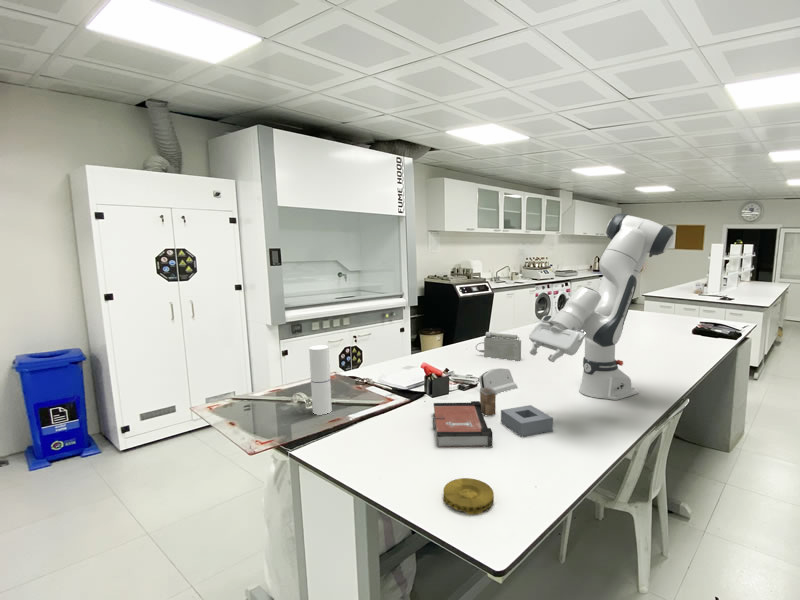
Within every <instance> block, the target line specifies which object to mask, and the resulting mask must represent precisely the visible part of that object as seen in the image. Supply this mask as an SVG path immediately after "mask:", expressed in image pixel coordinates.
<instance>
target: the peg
mask: <svg viewBox="0 0 800 600" xmlns="http://www.w3.org/2000/svg"><path fill="white" fill-rule="evenodd" d="M496 395H497V394H496V390H494V389H493V388H491V387H486V388H481V387H480V388H479V401H480V404H481V412H482V413H483V414H482V415H483V416H485V415H488V416H493V414H494V415H496Z"/></svg>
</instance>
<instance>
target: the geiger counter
mask: <svg viewBox="0 0 800 600" xmlns="http://www.w3.org/2000/svg"><path fill="white" fill-rule="evenodd" d="M483 340H484V341H483V342H479V343H477V344H476V345H475V350H477V352H479V353H483V354H484V355H483V357H484V358H488V357H491V358H490V359H496V358H499V359H498V360H504V359H507V360H506V361H512V360H515V361H514V362H521V361H522V340H521V339H520V337H519V336H518V334H510V333H509V334H508V333H499V332H492V331H486V332H485V337H484V339H483ZM480 344H483V346H484V347H483V349H478V348H477V347H478V345H480ZM520 360H521V361H520Z"/></svg>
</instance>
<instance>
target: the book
mask: <svg viewBox="0 0 800 600" xmlns="http://www.w3.org/2000/svg"><path fill="white" fill-rule="evenodd" d="M432 429H433V430H435V437H436V445H437V447H436V448H481V447H482V448H484V447H483V446H486V447H485V448H487V446H488V448H490V447H489V446H492V447H493V430H492V428H491V427H488V426H487V422H486V420H485V417H484V414H482V412H481V404H480V400H479V401H478V400H476V401H475V400H473V401H470V402H434V403H433V418H432ZM478 446H479V447H478Z"/></svg>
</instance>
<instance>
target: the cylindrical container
mask: <svg viewBox="0 0 800 600" xmlns="http://www.w3.org/2000/svg"><path fill="white" fill-rule="evenodd" d="M308 351H309V367H310V368H309V370H310V372H309V373H310V388H311V406H312V414H313V413H314V414H317V415H316V416H319V415H322V414H327V413H330V412H331V411H333V410H332V407H333V406H332V389H331V388H332V386H331V370H330V367H331V366H330V365H331V364H330V348H329V345H326V344H317V345H312V346H309V348H308ZM331 413H332V412H331ZM331 413H330V414H331ZM314 414H313V415H314ZM327 415H328V414H327ZM322 416H323V415H322Z"/></svg>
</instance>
